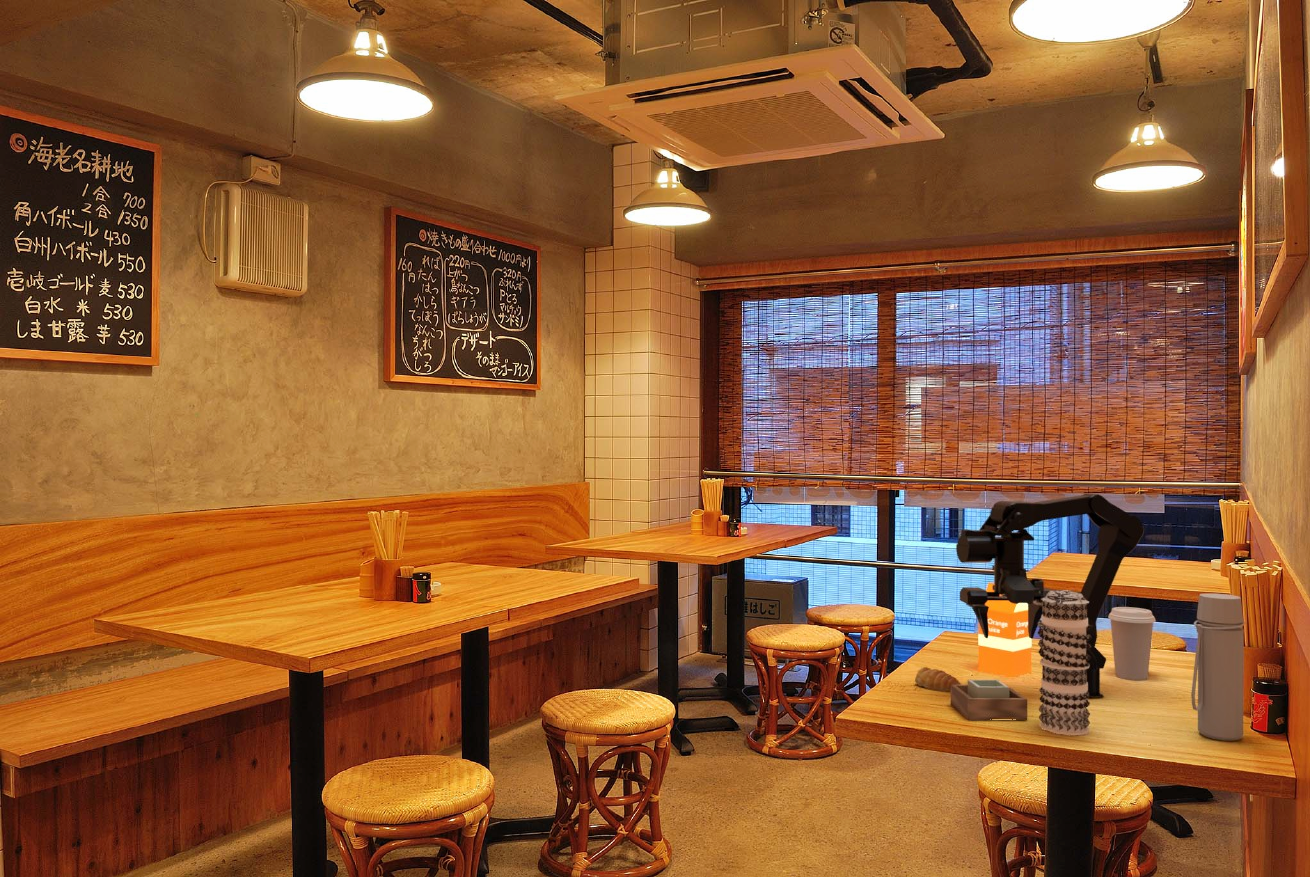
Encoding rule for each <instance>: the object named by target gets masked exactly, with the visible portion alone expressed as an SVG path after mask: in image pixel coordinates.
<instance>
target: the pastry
mask: <svg viewBox="0 0 1310 877" xmlns="http://www.w3.org/2000/svg"><path fill="white" fill-rule="evenodd" d="M914 682H915V684H917V685H918V687H920V688H922V687H924V688H925V689H927V690H932V691H933V690H934V691H938V692H943V691H945V692H950V693H951V685H962V683H961V682H960V680H958V679H957V678H956V677H954V676H953V675H951V674H949V673H947V672H946V671H944V670H942V669H941V670H940V669H936V668H935V669H931V668H930V667H922V668H920V670H918V672H917V673H916V675H915V680H914Z"/></svg>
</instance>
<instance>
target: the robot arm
mask: <svg viewBox="0 0 1310 877" xmlns="http://www.w3.org/2000/svg"><path fill="white" fill-rule="evenodd" d="M1081 515H1087V517H1088V518H1089V519H1090V521H1091V523H1093V524H1094V525H1095V526H1097V527H1098V528H1099V529H1098V533H1097V547H1098V550H1097V554H1096V556H1095V558H1094V560H1093V562H1092V565H1091V567H1090V570H1089V572H1088V574H1087V576H1086V579H1085V581H1084V584H1083V586H1082V588H1081V591H1080V593H1081V594H1082V595H1083V596H1084V598H1085V600H1087V601H1089V603H1087V618H1088V624H1090V625H1092V626H1093V627H1092V628H1091V629H1089V628H1088V629H1087V628H1086V634H1087V633H1088V634H1089V635H1090V636H1091V637H1092V639H1090V640H1088V641H1087V640H1086V643H1089V644H1090V645H1091V646H1092V647H1091V648H1089V649H1087V650H1086V653H1087V654H1088V655H1090V656H1091V658H1090V659H1089V660H1086V662H1087V663H1088V664H1090V666H1089V668H1088V669H1087V682H1088V691H1087V692H1088V693H1089V694H1090V696H1089V698H1104V694H1103V693H1101V691H1100V690H1101V688H1100V687H1101V686H1100V685H1101V684H1100V683H1101V681H1100V680H1101V678H1100V677H1101V676H1100V675H1101V669H1104V668H1105V664H1106V663H1107V658H1106V657H1105V656H1104V654H1102V653H1101V651H1100V650H1098V649H1097V647H1096V644H1097V639H1098V630H1097V620H1098V618H1099V615H1100V613H1101V611H1102V608H1103V606H1104V604H1105V602H1106V599H1107V596H1108V594H1109V592H1110V590H1111V587H1112V585H1113V582H1114V581H1115V578H1116V575H1117V573H1118V571H1119V568H1120V566H1121V563H1122V561H1123V560H1124V558H1126V557H1127V556H1128V555H1129V554H1130V553H1132V551H1133V550H1134V549H1135V548H1136V547H1137V545H1138V544H1139V542H1140V540H1141V539H1142V537H1143V535H1144V532H1145V527H1144V525H1143V522H1142V521H1141V520H1140V518H1139V517H1138V516H1135V515H1130V514H1129V513H1128V512H1126V511H1125V510H1123V509H1122V508H1120V507H1118V506H1117V505H1115V504H1113V503H1111V502H1110V501H1108V500H1107V499H1106V498H1105V497H1104V496H1102V495H1100V494H1097V493H1083V494H1080V495H1074V496H1069V497H1061V498H1053V499H1048V500H1042V501H1041V500H1040V501H1032V502H1031V501H1030V502H1029V501H1027V502H1026V501H1016V500H1015V501H1014V500H1013V501H1011V500H1000V501H996V502H995V503H994V504H993V506H992V507H991V510H990V514H989V515H988V517H987V518H986V520H985V522H983V524H982V526H981V527H980V528H979V529H977V530H975V529H974V530H971V529H969V528H968V529H965V528H964V529H961V535H960V536H959V537H958V539H957V543H956V545H955V550H956V556H957V558H958V561H959V562H961V563H962V564H968V563H969V564H970V563H971V564H972V563H974V564H976V563H979V564H980V563H981V564H983V563H985V564H987V563H991V562H992V561H993V562H994V563H993V565H992V566H991V567H992V571H994V572H993V573H994V574H993V576H994V578H993V583H994V585H992V590H994V592H986V589H984V588H981V587H976V586H975V587H969V586H968V587H962V588H961V589H960V591H959V601H961V602H962V603H964V604H965V605H966V606H968V607H969V608H970V607H971V609H972V611H973V612H974V615H975V616H976V620H977V621H978V625H979V624H980V627H981V629H982V632H983V634H984V637H985V638H988V633H989V629H988V615H987V613H988V609H989V606H986V605H985V603H986V602H987V601H988V600H990V601H1009V602H1011V603H1013V604H1018V603H1027V604H1028V633H1029V638H1031V639H1032V640H1033V638H1034V636H1035V634H1036V631H1037V628H1038V626H1037V624H1038V621H1039V620H1041V616H1042V614H1043V600H1041V599H1042V598H1045V597H1046V595H1047V594H1048V592H1050V591H1053V590H1054V589H1051V588H1049V587H1045V585H1044V583H1045V582H1044V580H1043V579H1042V578H1031V579H1029V578H1028V576H1027V568H1025V561H1024V559H1025V557H1024V556H1025V554H1024V553H1025V546H1024V545H1025V542H1029V541H1030V542H1032V541H1034V540H1035V537H1034V536H1032V535H1031V534H1030V533H1029V532H1028V530H1027V529H1028V528H1030V527H1032V526H1034V525H1037V524H1038V523H1040V522H1042V521H1043V522H1044V521H1048V520H1054V519H1055V520H1056V519H1061V518H1062V519H1063V518H1068V517H1074V516H1075V517H1076V516H1081ZM1015 531H1016V532H1015ZM1000 595H1001V596H1000Z"/></svg>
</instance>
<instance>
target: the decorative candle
mask: <svg viewBox="0 0 1310 877" xmlns="http://www.w3.org/2000/svg"><path fill="white" fill-rule="evenodd" d="M1052 590H1053V591H1050V592H1048V594H1047V595H1046V597H1045V598H1042V599H1041V600H1043V614H1042V616H1041V619H1040V620H1039V621H1038V624H1037V628H1039V629H1038V631H1037V635H1038V636H1039V637H1040V639H1039V641H1038V643H1037V646H1039V650H1038V655H1039V656H1040V657H1041V659H1040V660H1039V664H1040V665H1042V669H1041V671H1042V672H1041V674H1042V677H1041V679H1040V684H1041V685H1040V688H1039V691H1038V692H1039V693H1040V694H1041V695H1040V697H1039V698H1038V699H1039V701H1040V703H1042V704H1040V705H1039V707H1038V710H1039V712H1040V714H1039V716H1038V719H1039V720H1040V723H1039V726H1040V727H1041V728H1043V729H1045V730H1048V731H1050V732H1049V733H1051V732H1054V733H1053V734H1055V733H1056V734H1055V735H1060V734H1065V735H1064V736H1070V735H1078V736H1085V735H1088V734H1089V733H1090V728H1089V725H1090V723H1091V721H1090V720H1089V717H1090V715H1091V713H1090V711H1089V710H1088V708H1089V706H1090V705H1091V704H1090V701H1089V700H1088V699H1089V698H1090V697H1089V696H1090V694H1089V693H1088V692H1087V691H1088V682H1087V669H1088V668H1089V666H1090V664H1088V663H1087V662H1086V660H1089V659H1090V658H1091V656H1090V655H1088V654H1087V653H1086V650H1087V649H1089V648H1091V647H1092V646H1091V645H1090V644H1089V643H1086V640H1087V641H1088V640H1090V639H1092V637H1091V636H1090V635H1089V634H1088V633H1087V634H1086V628H1087V629H1088V628H1089V629H1091V628H1092V627H1093V626H1092V625H1090V624H1088V618H1087V603H1089V601H1087V600H1085V598H1084V596H1083V595H1082V594H1081V592H1079V591H1073V590H1067V589H1065V590H1063V589H1059V590H1058V589H1057V590H1054V589H1052ZM1040 727H1039V728H1040ZM1041 728H1040V729H1041ZM1043 729H1042V730H1043ZM1045 730H1044V731H1045Z"/></svg>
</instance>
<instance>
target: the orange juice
mask: <svg viewBox="0 0 1310 877" xmlns="http://www.w3.org/2000/svg"><path fill="white" fill-rule="evenodd" d="M992 585H994V582H988V583H987V585H986V586H987V587H986V589H985V590H986V592H994V590H992ZM1000 596H1001V595H1000ZM985 605H986V606H989V609H988V613H987V615H988V629H989V633H988V638H985V637H984V634H983V632H982V629H981V627H980V624H979V623H978V639H977V640H978V644H977V645H978V672H980V671H982V672H981V673H984V672H986V674H989V673H993V674H992V675H994V674H998V675H997V676H999V675H1005V676H1007V677H1006V678H1008V677H1017V676H1020V675H1024V674H1027V673H1031V674H1032V641H1033V638H1032V639H1031V638H1029V633H1028V604H1027V603H1018V604H1013V603H1011V602H1009V601H990V600H988V601H987V602H986V603H985ZM1017 678H1018V677H1017Z"/></svg>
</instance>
